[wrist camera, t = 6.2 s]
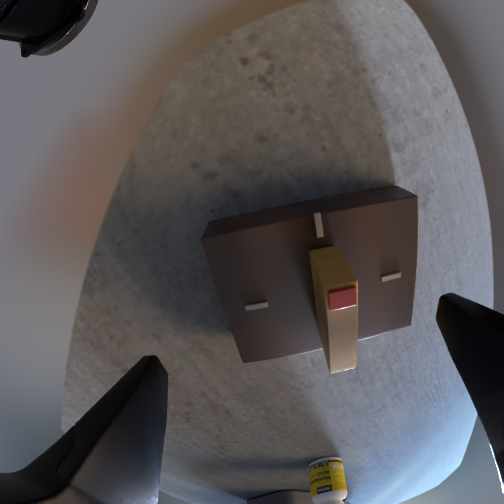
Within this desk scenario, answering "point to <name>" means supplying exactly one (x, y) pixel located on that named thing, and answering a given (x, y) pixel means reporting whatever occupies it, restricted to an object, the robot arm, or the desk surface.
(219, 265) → the block
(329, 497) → the supplement bottle
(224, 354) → the desk surface
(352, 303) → the red-tabbed yellow block
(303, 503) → the streaming box
